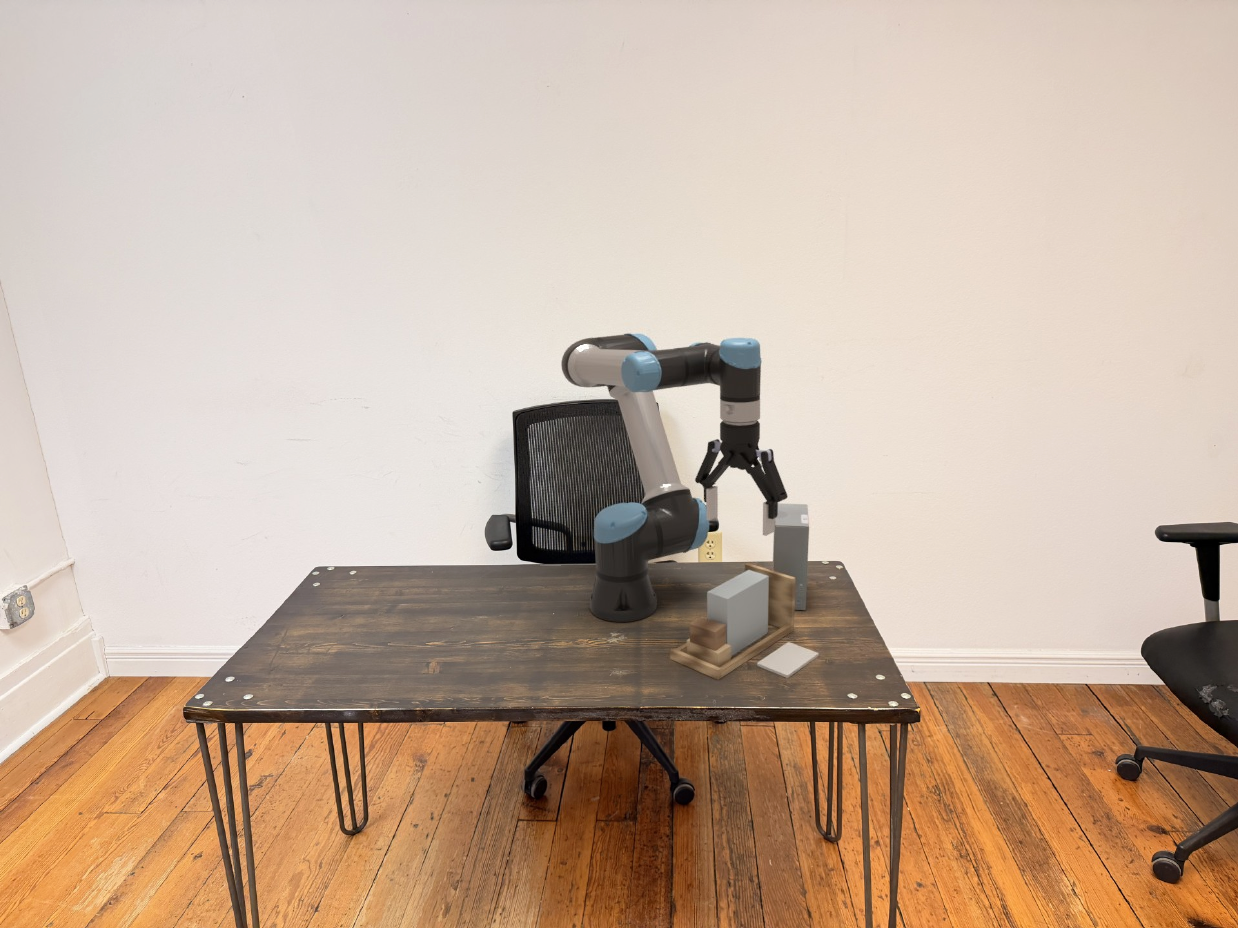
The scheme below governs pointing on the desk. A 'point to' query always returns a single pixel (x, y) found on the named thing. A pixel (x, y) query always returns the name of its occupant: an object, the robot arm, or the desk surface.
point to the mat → (787, 659)
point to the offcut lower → (710, 653)
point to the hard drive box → (792, 547)
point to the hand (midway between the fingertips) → (739, 525)
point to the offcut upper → (708, 633)
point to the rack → (778, 615)
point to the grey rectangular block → (741, 608)
